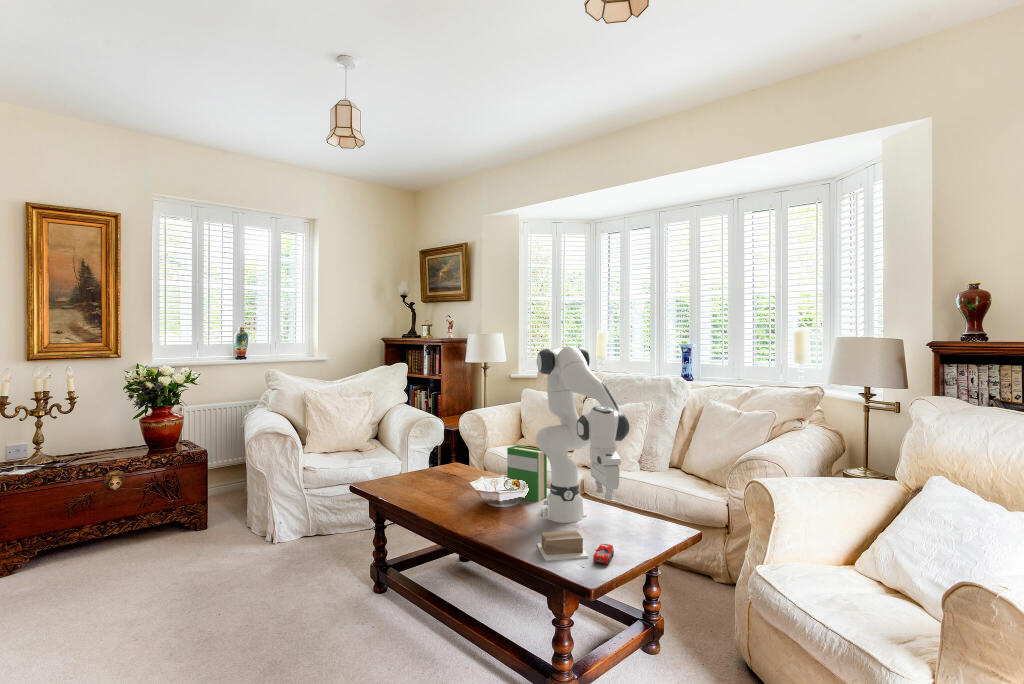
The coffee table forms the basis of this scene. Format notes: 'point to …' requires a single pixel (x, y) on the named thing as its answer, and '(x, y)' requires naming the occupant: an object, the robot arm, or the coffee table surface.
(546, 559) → the board
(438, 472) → the coffee table surface
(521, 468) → the hardback book
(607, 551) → the race car
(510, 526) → the coffee table surface
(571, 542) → the walnut block
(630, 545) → the coffee table surface
